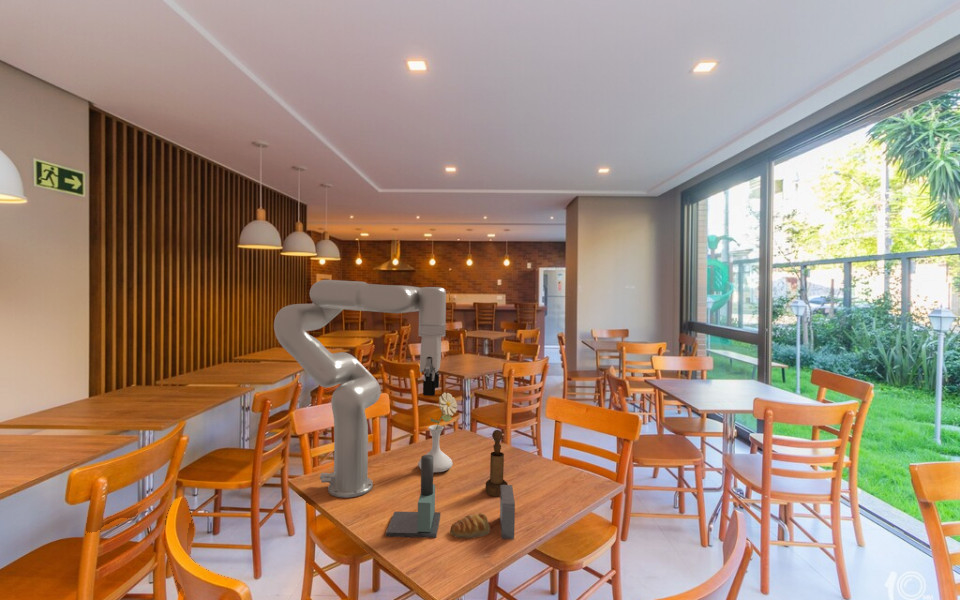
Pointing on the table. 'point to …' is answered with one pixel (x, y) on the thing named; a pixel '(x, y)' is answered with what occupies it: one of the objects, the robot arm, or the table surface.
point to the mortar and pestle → (496, 467)
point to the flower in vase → (447, 407)
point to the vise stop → (507, 512)
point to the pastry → (471, 526)
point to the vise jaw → (426, 495)
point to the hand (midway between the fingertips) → (431, 391)
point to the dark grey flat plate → (410, 525)
